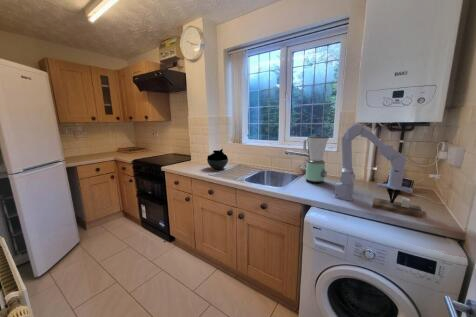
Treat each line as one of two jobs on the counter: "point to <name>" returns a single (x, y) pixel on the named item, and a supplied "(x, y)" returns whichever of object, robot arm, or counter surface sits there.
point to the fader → (405, 202)
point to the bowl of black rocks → (217, 159)
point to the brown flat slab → (397, 207)
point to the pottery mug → (393, 192)
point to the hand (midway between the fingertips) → (391, 202)
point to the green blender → (315, 158)
